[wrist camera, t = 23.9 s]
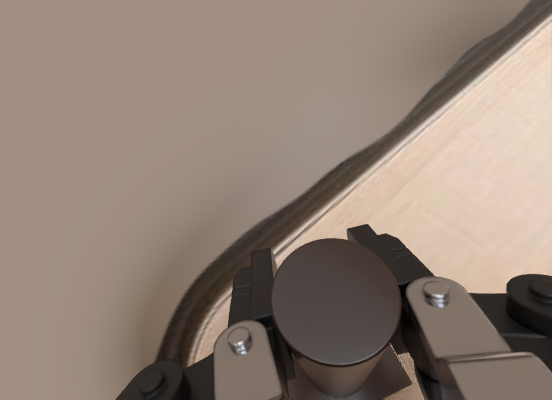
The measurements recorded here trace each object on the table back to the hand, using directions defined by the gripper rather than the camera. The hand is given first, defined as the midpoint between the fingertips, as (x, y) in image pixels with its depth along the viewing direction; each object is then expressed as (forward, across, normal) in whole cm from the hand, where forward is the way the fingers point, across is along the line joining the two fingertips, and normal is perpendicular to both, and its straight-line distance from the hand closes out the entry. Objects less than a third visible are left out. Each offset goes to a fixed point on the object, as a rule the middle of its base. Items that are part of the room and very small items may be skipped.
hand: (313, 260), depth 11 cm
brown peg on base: (+2, 0, +8) cm, 8 cm away
